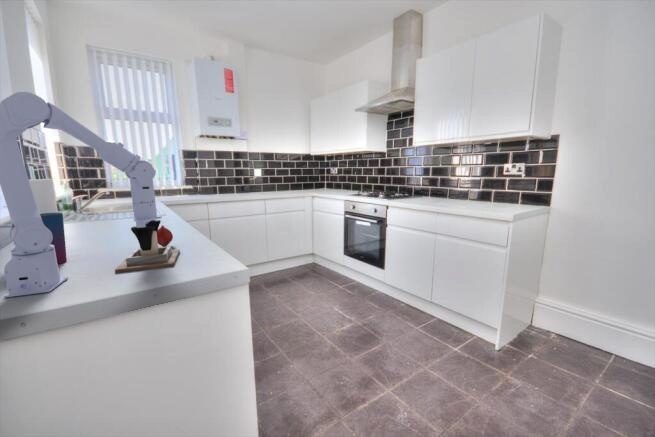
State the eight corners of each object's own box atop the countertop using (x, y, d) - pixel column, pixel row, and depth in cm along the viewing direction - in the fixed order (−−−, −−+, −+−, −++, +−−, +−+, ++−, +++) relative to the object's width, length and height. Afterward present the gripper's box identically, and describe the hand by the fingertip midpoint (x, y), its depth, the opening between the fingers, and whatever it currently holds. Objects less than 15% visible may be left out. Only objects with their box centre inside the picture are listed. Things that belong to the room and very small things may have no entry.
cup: (76, 259, 90) (68, 212, 88) (54, 266, 84) (45, 215, 81) (57, 259, 91) (48, 212, 89) (33, 266, 84) (23, 215, 82)
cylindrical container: (46, 260, 90) (31, 179, 86) (28, 259, 91) (13, 180, 87) (70, 254, 97) (58, 179, 93) (54, 253, 98) (40, 179, 94)
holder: (173, 266, 83) (172, 256, 82) (115, 273, 78) (113, 262, 77) (179, 252, 98) (178, 243, 97) (131, 256, 93) (130, 247, 92)
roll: (157, 259, 86) (154, 233, 85) (139, 261, 85) (136, 234, 83) (160, 255, 90) (157, 230, 89) (143, 256, 89) (140, 231, 88)
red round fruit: (151, 247, 103) (149, 226, 102) (167, 244, 109) (164, 223, 107) (161, 249, 101) (159, 227, 100) (177, 245, 106) (174, 224, 105)
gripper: (154, 203, 79) (160, 251, 82) (163, 199, 93) (168, 240, 95) (124, 205, 77) (131, 254, 79) (138, 200, 90) (143, 242, 93)
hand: (149, 247), depth 87 cm, fingers open, 7 cm apart
